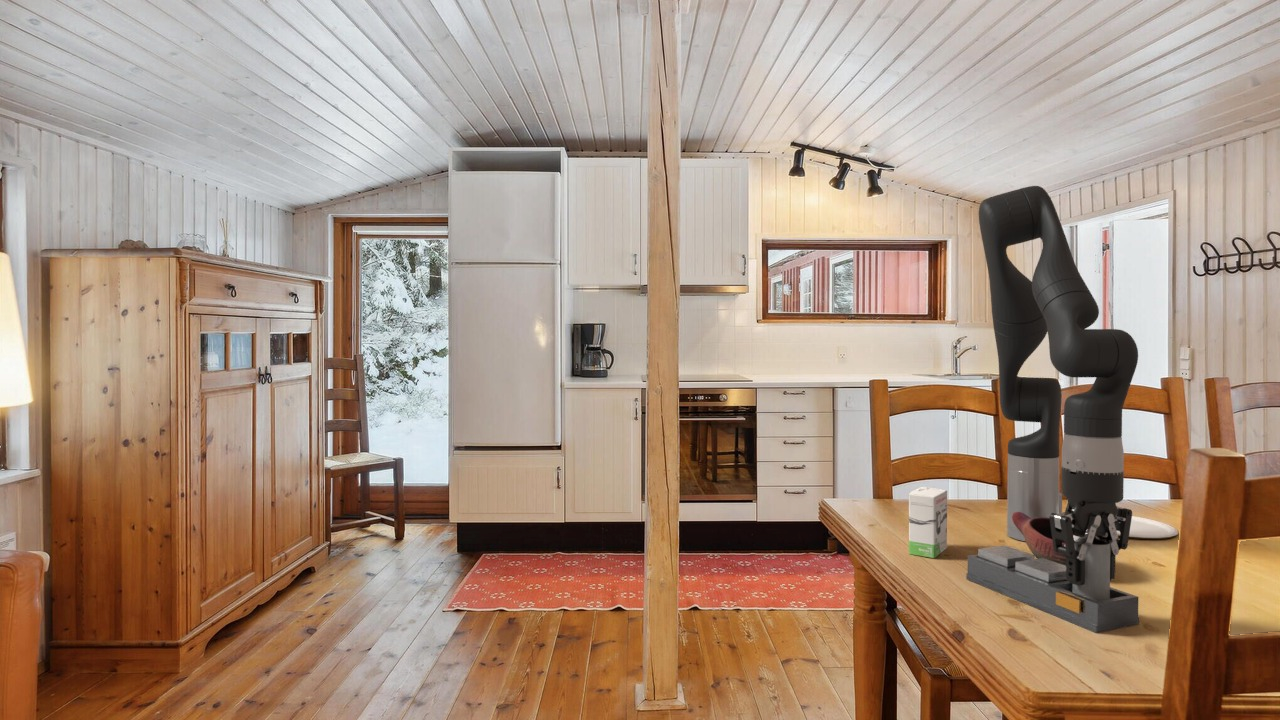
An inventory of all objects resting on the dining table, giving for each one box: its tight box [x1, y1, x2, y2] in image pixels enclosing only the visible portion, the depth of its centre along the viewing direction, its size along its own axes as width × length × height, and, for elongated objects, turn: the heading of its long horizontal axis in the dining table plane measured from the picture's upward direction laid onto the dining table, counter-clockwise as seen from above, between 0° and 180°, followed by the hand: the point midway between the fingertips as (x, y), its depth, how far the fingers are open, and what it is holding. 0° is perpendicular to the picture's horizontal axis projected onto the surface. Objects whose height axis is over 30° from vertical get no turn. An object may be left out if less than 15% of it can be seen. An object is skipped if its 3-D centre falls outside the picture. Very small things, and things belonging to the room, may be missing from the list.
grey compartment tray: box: [965, 544, 1140, 634], centre depth 104 cm, size 23×9×5 cm, turn 19°
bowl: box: [1012, 512, 1082, 566], centre depth 120 cm, size 16×13×8 cm
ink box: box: [908, 486, 948, 559], centre depth 129 cm, size 9×5×12 cm, turn 140°
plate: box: [1117, 515, 1179, 540], centre depth 146 cm, size 21×21×1 cm
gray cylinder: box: [1072, 536, 1111, 601], centre depth 98 cm, size 4×4×10 cm
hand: (1090, 580), depth 98 cm, fingers open, 5 cm apart
